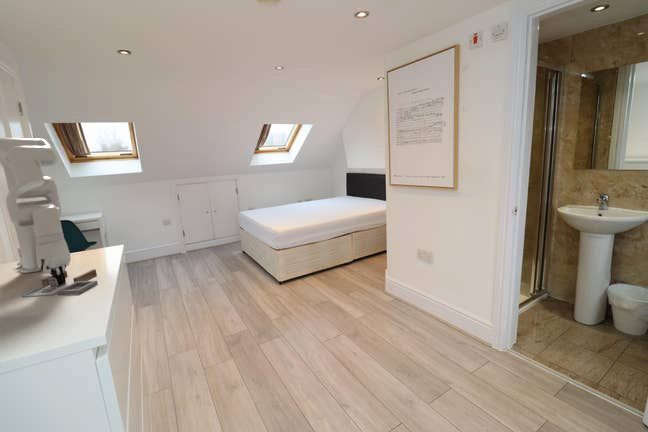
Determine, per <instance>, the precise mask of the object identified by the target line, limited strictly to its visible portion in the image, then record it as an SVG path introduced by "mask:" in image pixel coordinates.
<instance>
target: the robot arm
mask: <svg viewBox="0 0 648 432" xmlns="http://www.w3.org/2000/svg"><path fill="white" fill-rule="evenodd" d="M57 157H58V156H57V154H56V151H55V150H54V148H53V147H52V145H50V144H49V142H48V141H47V140H45V139H44V138H30V137H25V138H23V137H22V138H21V137H0V164H1V167H2V169H3V170H4V171H3V172H4V175H5V180H6V184H7V188H8V193H7V194H6V199H5V204H6V208H7V211H8V215H9V219H10V221H11V222H12V225H13V226H14V229H15V233H16V237H17V242H18V244H19V245H18V246H19V248H20V250H21V254H22V258H23V260H19V262H17V263H16V266H21V268H20V273H23V274H27V273H29V274H30V273H35V272H41V271H43V274H45V275H46V274H50V276H52V275H53V278H56V279H57V282H58V284H63V283H67V280H66V277H65V275H64V273H65V271H66V268H67V267H68V266H69V265H70V262H71V253H70V249H69V246H68V243H67V241H66V239H65V236H64V232H63V228H62V223H61V217H62V207H61V201H60V197H59V191H58V190H59V189H58V187H57V183H56V182H55V180H54V179H53V178H52V177H50V176H44V173H43V170H42V168H41V167H54V166H55V165H57V162H58V158H57ZM36 198H45V199H42V200H41V199H40V200H28V201H19V202H17V200H26V199H36ZM54 281H55V279H54Z"/></svg>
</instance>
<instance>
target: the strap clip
mask: <svg viewBox="0 0 648 432" xmlns="http://www.w3.org/2000/svg"><path fill="white" fill-rule="evenodd" d="M50 279H55V281H50ZM48 281H49V286H48V287H44V288H42V289H41V290H40V293H41V294H42V293H43V294H44V293H45V294H46V293H50V292H52V291H54V290H56V289H57V288H61V287H62V286H65V285H67V282H65V283H63V284H58V282H57V279H56V278H49V279H48Z"/></svg>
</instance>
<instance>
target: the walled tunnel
mask: <svg viewBox="0 0 648 432" xmlns="http://www.w3.org/2000/svg"><path fill="white" fill-rule="evenodd" d="M64 275H65V278H66V277H68V272H67V270H65V273H64ZM95 276H97V270H96V268H95V269H94V268H93V269H92V268H91V269H90V270H87V271H86V272H84V273H82V274H79V275H77V276H75V277H73V278H72V280H73V283H75V282H77V281H88V280H89V279H91V278H93V277H95ZM49 278H53V275H49V276H47V277H45V278H41V283H42V286H45V287H46V286H50V284H49V281H48V279H49ZM50 281H54V279H50Z"/></svg>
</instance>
